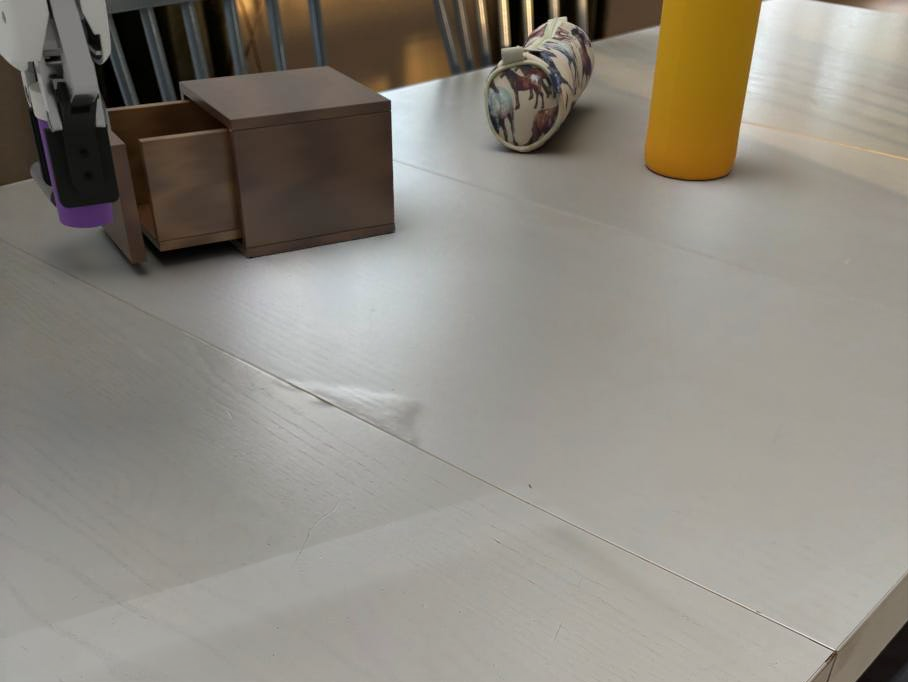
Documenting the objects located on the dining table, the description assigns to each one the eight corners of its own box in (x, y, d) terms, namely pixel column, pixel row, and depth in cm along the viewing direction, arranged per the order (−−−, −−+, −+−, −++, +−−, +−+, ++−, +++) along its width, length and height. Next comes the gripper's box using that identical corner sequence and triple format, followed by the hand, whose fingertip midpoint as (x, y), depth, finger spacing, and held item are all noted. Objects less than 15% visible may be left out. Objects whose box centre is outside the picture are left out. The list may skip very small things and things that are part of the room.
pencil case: (559, 158, 109) (566, 52, 102) (479, 150, 110) (482, 45, 104) (592, 105, 125) (600, 11, 119) (522, 98, 126) (527, 5, 120)
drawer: (73, 274, 81) (44, 153, 75) (39, 227, 88) (11, 113, 82) (281, 238, 87) (270, 125, 82) (233, 197, 95) (220, 90, 89)
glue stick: (65, 232, 59) (36, 96, 54) (52, 213, 61) (22, 81, 56) (122, 224, 60) (98, 90, 56) (107, 206, 62) (83, 76, 58)
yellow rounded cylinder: (752, 171, 107) (818, -190, 88) (690, 187, 103) (746, -189, 84) (685, 148, 113) (735, -197, 94) (624, 163, 108) (662, -196, 89)
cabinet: (247, 258, 86) (230, 119, 79) (197, 210, 95) (178, 81, 88) (395, 232, 92) (391, 100, 85) (336, 189, 100) (328, 65, 93)
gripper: (-118, -239, 51) (-17, 157, 63) (-61, -216, 41) (47, 254, 53) (41, -234, 54) (109, 144, 66) (131, -211, 44) (192, 232, 56)
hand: (80, 189), depth 59 cm, fingers closed on glue stick, 3 cm apart
